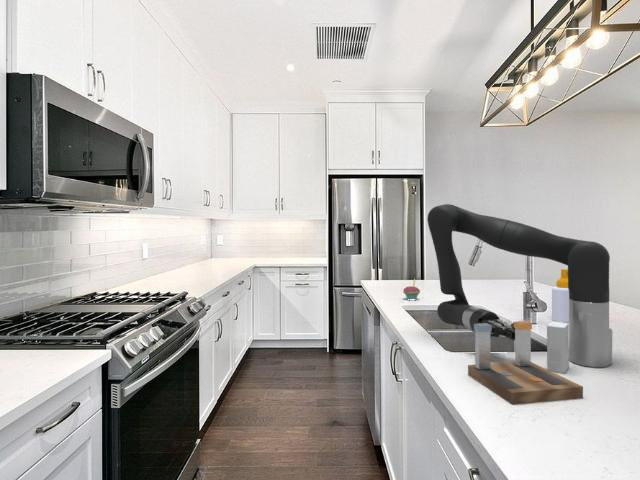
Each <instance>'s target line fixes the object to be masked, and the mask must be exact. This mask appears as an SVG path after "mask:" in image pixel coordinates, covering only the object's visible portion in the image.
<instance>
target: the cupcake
mask: <svg viewBox="0 0 640 480" xmlns="http://www.w3.org/2000/svg"><path fill="white" fill-rule="evenodd" d="M412 283H413V284H412V286H410V285H409V286H406V287H404V289H403V291H402V292H403V294H404V295H405V297H406V300H407V299H416V300H418V296H419V294H420V292H421V290H420V289H419V288H418V287H417V286H415V284H416V278H414V279H413V282H412Z"/></svg>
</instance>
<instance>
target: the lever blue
mask: <svg viewBox="0 0 640 480" xmlns="http://www.w3.org/2000/svg"><path fill="white" fill-rule="evenodd" d="M474 331H475V332H474V338H475V339H474V343H475V345H474V346H475V347H474V349H475V350H474V356H475V357H474V358H475V359H474V363H475V364H474V365H475V367H476V368H478V369H479V370H480V369H491V363H492V362H491V337H490V332H492V325H490V324H487V323H482V324H474Z"/></svg>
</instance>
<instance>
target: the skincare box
mask: <svg viewBox="0 0 640 480" xmlns="http://www.w3.org/2000/svg"><path fill="white" fill-rule="evenodd" d="M546 359H547V360H546V362H547V363H546V364H547V365H546V366H547V368H546V369H547V370H549V371H551V372H553V373H559V374H566V373H567V371H568V369H569V367H570V360H569V323H562V322H555V321H553V320H552V321H549V323H548V324H547V325H546Z"/></svg>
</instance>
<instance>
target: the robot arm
mask: <svg viewBox="0 0 640 480" xmlns="http://www.w3.org/2000/svg"><path fill="white" fill-rule="evenodd" d="M427 226H428V228H429V232H430V236H431V240H432V244H433V247H434V251H435V257H436V260H437V268H438V277H439V287H440V291H441V293H442V294H444V295H449V296H454V299H450V300H446V301H442V302H441V303H439V304H438V306H437V310H436V311H437V316H438V317H439V319H440V320H441V321H442V322H444V323H445V324H448V325H455V326H462V327H464V328H465V329H468V330H469V331H471V332H473V333H475V331H474V324H482V323H487V324H490V325H492V332H490V338H493V337H494V338H499V337H503V338H508V339H510V340H513V341H515V328H514V322H515V321H513V322H511V323H510V324H509V323H508V322H507V321H503V320H502V319H501V318H500V317H499V316H498V314H497V313H495V312H493V311H491V310H487V309H484V308H482V307H476V306H473V305H470V304H469V301H468V299H467V297H466V293H465V292H464V288H463V283H462V281H463V280H462V273H461V267H460V264H459V260H458V258H457V256H456V253H455V251H454V245H453V232H457V233H462V234H466V235H470V236H472V237H475V238H476V239H479V240H481V242H483V243H486V244H487V245H489V246H492V247H493V248H496V249H498V250H503V251H506V252H508V253H509V252H510V253H512V254H517V255H520V256H521V255H522V256H525V257H526V256H527V257H532V258H533V257H534V258H541V259H547V260H550V261H554V262H557V263H560V264H562V265H565V266H567V269H568V289H569V323H568V324H569V362H571V363H574V364H576V365H580V366H584V367H589V368H590V367H592V368H607V367H609V365H613V330H612V328H610V261H611V259H610V257H611V256H610V253H609V251H608V249H607V248H606V247H605V246H604V245H602V244H600V242H596V241H589V240H582V239H575V238H570V237H564V236H559V235H556V234H553V233H551V232H548V231H545V230H542V229H541V228H537V227H533V226H531V225H527V224H524V223H520V222H518V221H512V220H510V219H505V218H501V217H496V216H490V215H485V214H484V215H483V214H478V213H475V212H473V211H470V210H467V209H465V208H462V207H459V206H458V205H454V204H449V203H446V204H441V205H436V206H434V207H432V208H431V209H430V211H429V212H428V214H427Z"/></svg>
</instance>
